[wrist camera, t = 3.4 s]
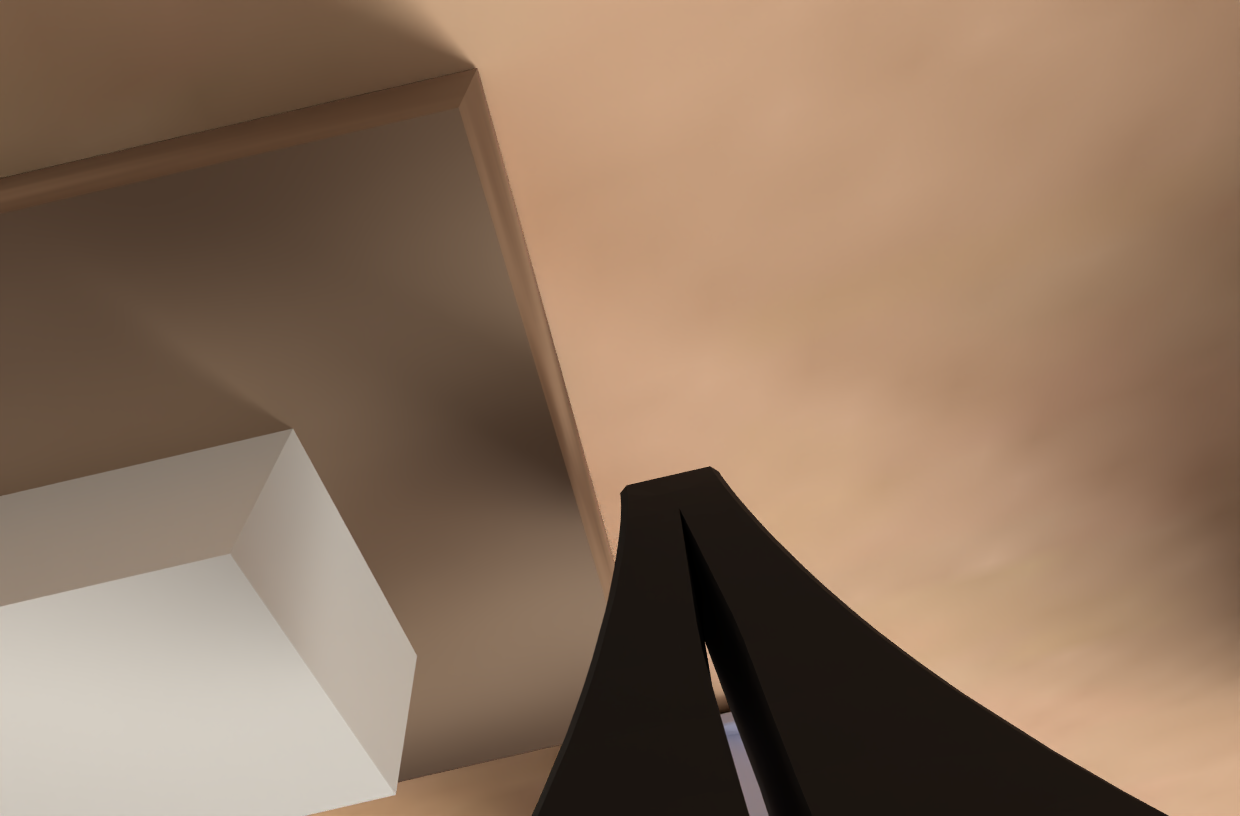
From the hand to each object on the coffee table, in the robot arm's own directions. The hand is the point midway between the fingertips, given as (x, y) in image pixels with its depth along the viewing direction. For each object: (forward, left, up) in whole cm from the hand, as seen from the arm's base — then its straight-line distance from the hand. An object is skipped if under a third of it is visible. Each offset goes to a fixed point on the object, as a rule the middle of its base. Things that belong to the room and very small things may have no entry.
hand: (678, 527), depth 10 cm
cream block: (0, +7, -1) cm, 7 cm away
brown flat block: (0, +7, -5) cm, 9 cm away
